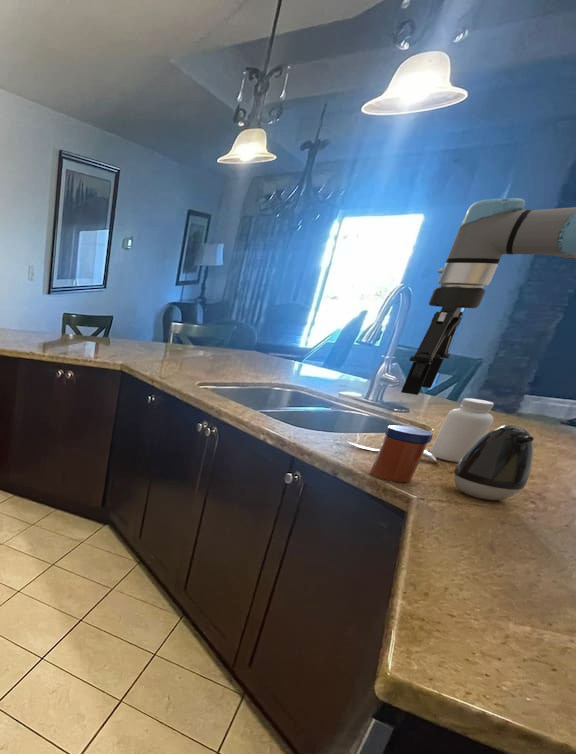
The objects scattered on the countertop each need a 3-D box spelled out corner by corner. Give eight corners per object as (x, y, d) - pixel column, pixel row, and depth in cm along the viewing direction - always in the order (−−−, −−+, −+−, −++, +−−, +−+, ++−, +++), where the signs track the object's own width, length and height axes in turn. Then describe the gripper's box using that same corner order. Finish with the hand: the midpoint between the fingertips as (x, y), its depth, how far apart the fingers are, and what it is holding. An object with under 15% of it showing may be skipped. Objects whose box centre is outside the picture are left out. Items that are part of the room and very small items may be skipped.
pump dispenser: (462, 500, 100) (499, 428, 94) (436, 482, 108) (468, 415, 102) (528, 510, 96) (571, 436, 90) (495, 490, 105) (532, 422, 99)
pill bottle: (476, 466, 119) (507, 406, 113) (432, 459, 123) (460, 400, 117) (466, 457, 125) (495, 400, 119) (425, 450, 129) (451, 395, 123)
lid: (433, 439, 106) (436, 431, 106) (426, 445, 102) (430, 437, 101) (389, 430, 112) (392, 423, 111) (381, 436, 107) (384, 428, 107)
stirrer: (342, 431, 129) (344, 427, 132) (336, 443, 131) (338, 440, 134) (443, 455, 118) (442, 450, 121) (436, 468, 119) (435, 463, 122)
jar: (413, 478, 110) (433, 433, 106) (406, 485, 106) (427, 439, 102) (374, 468, 115) (392, 425, 111) (366, 474, 111) (384, 430, 107)
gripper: (446, 286, 109) (406, 381, 117) (423, 284, 95) (380, 392, 103) (494, 288, 104) (449, 387, 112) (478, 286, 89) (427, 400, 98)
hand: (416, 390), depth 107 cm, fingers open, 13 cm apart
